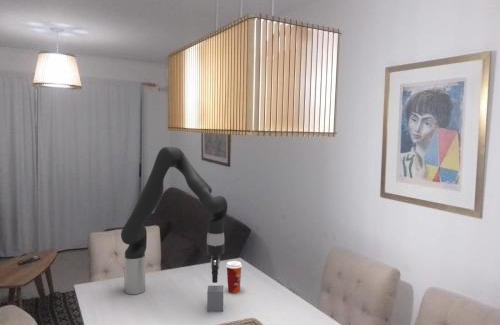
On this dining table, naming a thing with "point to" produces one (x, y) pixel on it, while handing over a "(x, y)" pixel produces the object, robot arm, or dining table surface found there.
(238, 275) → the paper cup
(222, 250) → the robot arm
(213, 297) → the gray cube
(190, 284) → the dining table surface
